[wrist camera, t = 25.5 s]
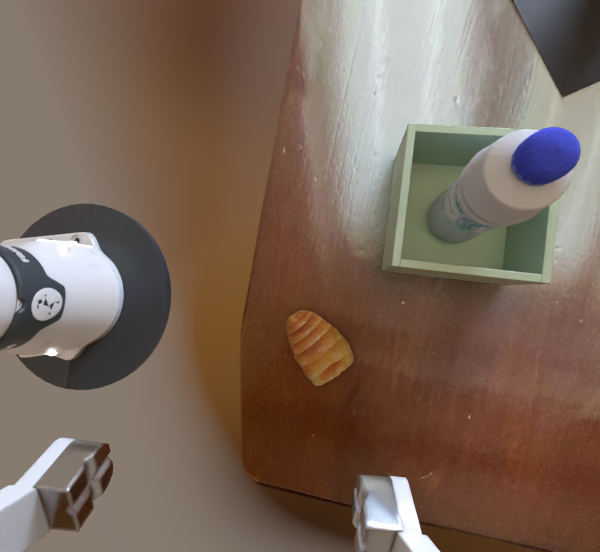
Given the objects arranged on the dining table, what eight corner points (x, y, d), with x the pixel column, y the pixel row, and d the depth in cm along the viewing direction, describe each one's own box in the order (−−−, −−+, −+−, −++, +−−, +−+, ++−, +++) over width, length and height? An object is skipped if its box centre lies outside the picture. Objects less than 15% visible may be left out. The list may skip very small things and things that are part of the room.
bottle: (427, 188, 40) (510, 88, 20) (485, 197, 39) (630, 101, 19) (417, 241, 40) (490, 194, 20) (474, 251, 39) (610, 211, 19)
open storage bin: (381, 271, 41) (391, 265, 32) (394, 158, 42) (408, 123, 33) (503, 285, 39) (550, 283, 30) (516, 166, 40) (566, 131, 31)
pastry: (275, 328, 43) (268, 332, 39) (315, 297, 42) (312, 298, 38) (318, 387, 42) (315, 396, 38) (360, 356, 41) (361, 363, 37)
